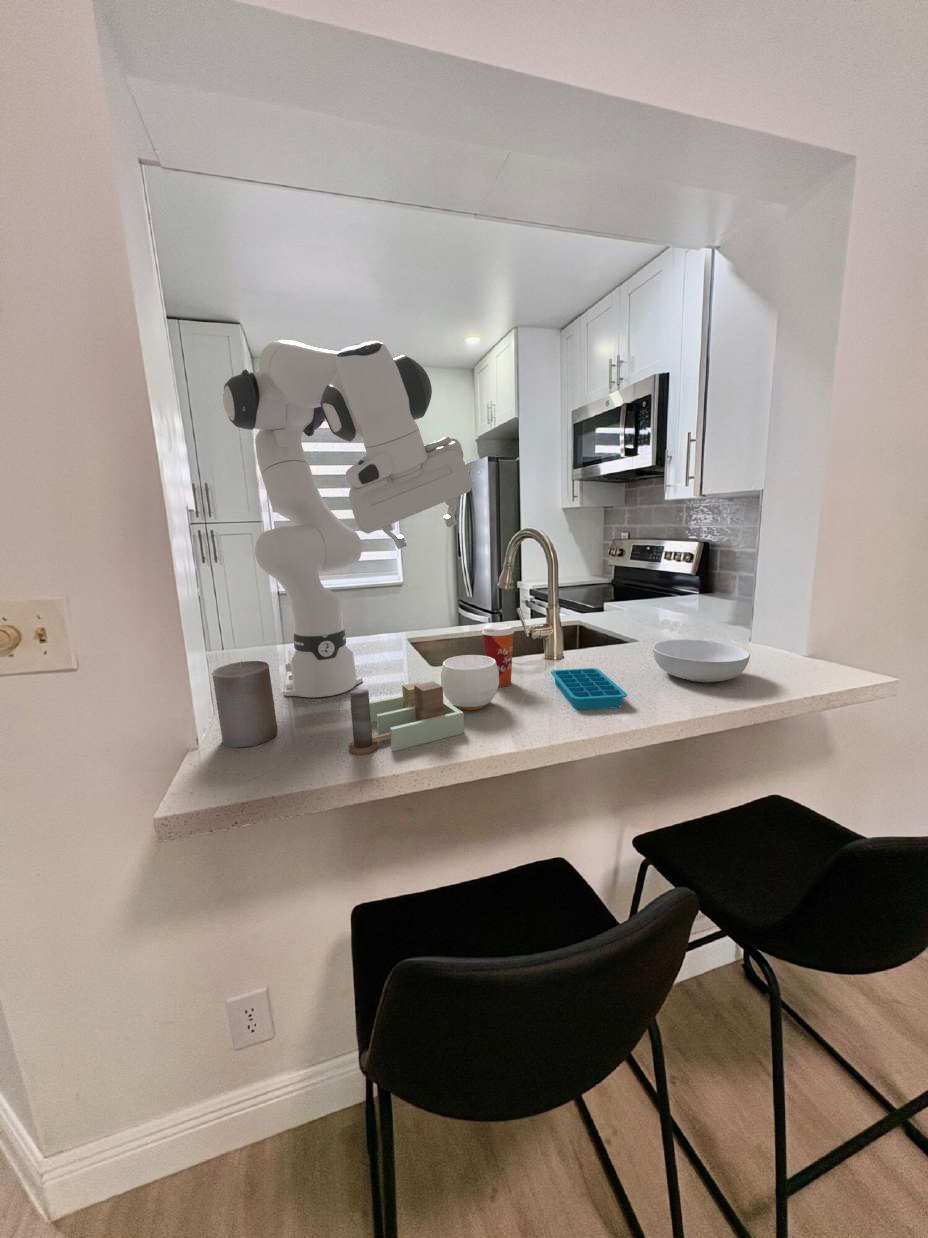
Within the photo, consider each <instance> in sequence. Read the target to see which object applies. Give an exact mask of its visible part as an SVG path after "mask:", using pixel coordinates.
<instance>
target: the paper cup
mask: <svg viewBox="0 0 928 1238" xmlns="http://www.w3.org/2000/svg"><path fill="white" fill-rule="evenodd" d="M513 628H514V627H513V626H512V625H510V624H506V623H492V624H491V623H490V624H486V625H484V626H483V629H482V630H481V634H482V635H483V646H484V656H487V657H491V658H493V659H495V661H496V664H497V668H498V671H499V686H498V688H503V687H504V688H505V687H508V686H510V685H511V684H512V672H513V671H512V670H513V646H514V645H513V644H514V643H513V642H514V640H513V639H514V634H515V630H514V629H513Z"/></svg>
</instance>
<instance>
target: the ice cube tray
mask: <svg viewBox="0 0 928 1238" xmlns="http://www.w3.org/2000/svg"><path fill="white" fill-rule="evenodd" d="M550 674H551V676H553V678H554V684H555V686H556V687H557V688H558V690H559V691H560V692H561V694H562V695H563V696H564V697H565V699H567V701H568V702H569V703H570V704H571V706H572V707H573V708H574V709H576V710H579V711H581V710H596V708H598V709H610V708H611V707H615V708H620V707H619V706H621V705H623V698H624V699H625V698H627V697H628V693H627V692H625V691H624V690H623V689H622V688H621V687H620V686H619V685H618V684H617V683H615V682H614V681H613V680H612V679H610V678H609V677H608V676H607V675H606V674H605V673H603V671H601V670H600V669H598V668H595V667H592V668H591V667H588V668H569V669H553V670H551V671H550ZM621 707H622V706H621Z"/></svg>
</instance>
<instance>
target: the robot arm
mask: <svg viewBox="0 0 928 1238" xmlns="http://www.w3.org/2000/svg"><path fill="white" fill-rule="evenodd" d="M258 360H259V362H258V363H259V369H258V371H256V372H251V371H250V372H249V370H248V369H247V368H246V369H243V370H242V371H241V373H240V374H237V375H235V376H233V377H230V378H229V379H228V380H227V381H226V382H225V384H223V392H222V393H223V394H222V403H223V407H224V410H225V413H226V414H227V417H228V419H229V420H230V422H231V423H232V425H234V426H235V427H237V428H239V429H243V430H250V431H253V430H254V429H256V430H259V431H258V432H257V434H256V436H255V442H254V444H255V453H256V459H257V464H258V469H259V471H260V476H261V478H262V481H263V485H264V488H265V490H266V494H267V496H268V500H269V503H270V506H271V507H272V509H273V510H274V512H276V513H277V514H279V515H280V516H282V517H284V518H286V519H287V520H289V521H290V522H291V523H293V525H295V526H293V525H288V526H280V527H276V528H271V529H267V530H265V531H263V532H262V533H261V534H260V535H259V536H258V537H257V540H256V542H255V545H254V546H255V547H254V555H255V559H256V561H257V563H258V565H259V566H260V568H261V569H262V570H263V571H264V573H266V574H267V575H269V576H270V577H272V578H274V580H276V581H277V582H278V583H279V584H280V586H281V587H282V588H283V589H284V592H285V593H286V595H287V597H288V600H289V602H290V603H289V604H290V607H291V612H292V619H293V625H294V626H293V627H294V634H293V638H292V639H293V648H294V652H293V654H292V656H291V659H290V661H289V662H285V672H287V673H289V674H286V676H285V683H284V689H283V690H284V691H283V696H285V697H302V698H323V697H330V696H336V695H340V694H343V693H346V692H348V691H350V690H352V689H353V688H354V687H355V686H356V685H358V684H360V683H362V682H363V677H362V676H360V675H358V674H356V673H357V672H356V665H355V658H354V651H353V650H352V649H351V648H349V647H348V646H347V634H346V629H345V628H344V623H343V611H342V602H341V599H340V597H339V595H337V594H336V593H335V592H334V591H332V590H330V589H328V588H326V587H324V585H323V584H322V582H321V579H320V575H319V574H320V573H321V574H322V573H327V572H329V573H331V572H338V571H342V570H344V569H347V568H349V567H350V568H351V567H353V566H355V565H356V564H357V563H359V561H360V559H361V555H362V554H363V553H362V551H363V546H362V541H361V538H360V536H359V534H358V532H356V531H355V529H353V528H351V527H350V526H348V525H347V524H345V523H343V521H341V520H340V519H339V518H338V517H337V516H336V515H335V514H334V513H333V512H332V510H331V509H330V508H329V506H328V505H327V504H326V502H325V501H324V499H323V498H322V496H321V494H320V490H319V489H318V485H317V482H316V481H315V478H314V475H313V472H312V470H311V467H310V463H309V460H308V458H307V455H306V453H305V450H304V447H303V444H302V443H303V442H302V437H303V434H305V436H307V437H312V436H313V435H314V434H315V430H317V429H318V428H320V427H321V426H322V424H323V423H324V422H325V421H326V423H327V425H328V428H329V429H330V431H331V433H332V434H333V435H335V436H336V437H338V438H340V439H342V440H344V441H347V442H356V441H357V442H358V441H361V440H363V446H364V449H365V450H366V454H365V455H364V456H363V457H361V458H360V459H359V460H358V461H357V462H356V463H354V464H352V466H350V467H349V468H348V469H347V470H346V471H345V478H346V481H347V482H348V484H349V485H350V486H351V487H350V489H349V492H348V497H349V502H350V506H351V511H352V514H353V517H354V521H355V523H356V525H357V527H358V529H359V531H360V532H362V533H365V534H372V533H373V532H376V531H378V530H382V531H383V532H384V534H386V535H387V536H388V537H390V538H391V539H392V540H393V542H394V544H395V546H396V548H397V549H398V550H400V549H403V548H405V547H407V546H408V545H407V542H405V538H404V536H403V535H402V534H399V535H396V534H394V533H393V532H392V531H393V530H394V529H393V526H392V525H393V524H396V523H398V522H400V521H403V520H405V519H407V518H410V517H412V516H414V515H416V514H419V513H421V512H423V511H427V510H428V509H431V508H434V507H436V506H438V505H441V504H443V503H445V504H446V505H448V509H447V514H446V515H444V516H443V520H444V521H445V522H444V523H445V525H446V527H447V528H452V527H454V526H457V524H458V522H457V519H456V516H455V515H456V511H457V507H458V501H457V499H456V498H457V497H460V496H462V495H464V494H467V493H469V492H471V491H472V487H473V485H474V484H473V483H474V482H473V479H472V477H471V473H470V472H469V469H468V467H467V465H466V463H465V461H464V451H463V447H462V445H461V443H460V441H459V440H458V439H456V438H452V437H449V436H447V437H443V438H441V439H440V440H438V441H434V442H431V443H429V444H424V440H423V437H422V435H421V432H420V429H419V426H418V424H417V423H416V420H418V419H421V418H424V416H425V414H426V412H427V411H428V409H429V406H430V403H431V399H432V394H433V388H432V383H431V380H430V377H429V375H428V373H427V371H426V370H425V369H424V367H423V366H422V365H421V364H420V363H418V362H417V361H416V360H414V359H412V358H411V357H409V356H408V355H405V354H402V355H400V356H397V357H394V358H393V355H392V354H391V352H390V350H389V348H388V347H387V346H386V344H385V343H383V342H380V341H378V340H371V341H365V342H360V343H356V344H352V345H349V346H347V347H345V348H343V349H341V350H339V351H335V350H328V349H323V348H318V347H313V346H310V345H306V344H305V343H301V342H299V341H295V340H287V339H285V340H284V339H281V340H275V341H272V342H269V343H268V344H267V345H265V347H264V348H263V349H262V351H261V353H260V355H259V359H258ZM290 672H291V673H290Z"/></svg>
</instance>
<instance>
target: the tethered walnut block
mask: <svg viewBox="0 0 928 1238" xmlns="http://www.w3.org/2000/svg"><path fill="white" fill-rule="evenodd" d="M414 693H415V710H416V721H420V720H425V719H429V718H433V717H437V716H441V715H444V704H443V699H444V692H443V687H442V686H441V684H439V683H437V682H436V681H433V680H431V681H427V682H422V683H420V684H417V685H414ZM369 694H370V693H369V690H368V689H365V688H357V689H354V690H351V691H350V692H349V701H350V711H351V712H350V713H351V714H350V715H351V724H352V725H351V728H352V737H353V741H351V742H350V743H349V744H348V751H349V753H351V754H352V755H356V756H362V755H369V754H372V753H374V752H376V751H377V750H378V748H379V742H382V741H386V740H389V739H390V740H391V738H390V732H389V733H385V734H381V735H378V734H377V735H373V731H372V730H373V729H372V723H371V716H370V703H369V702H370V695H369Z"/></svg>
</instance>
